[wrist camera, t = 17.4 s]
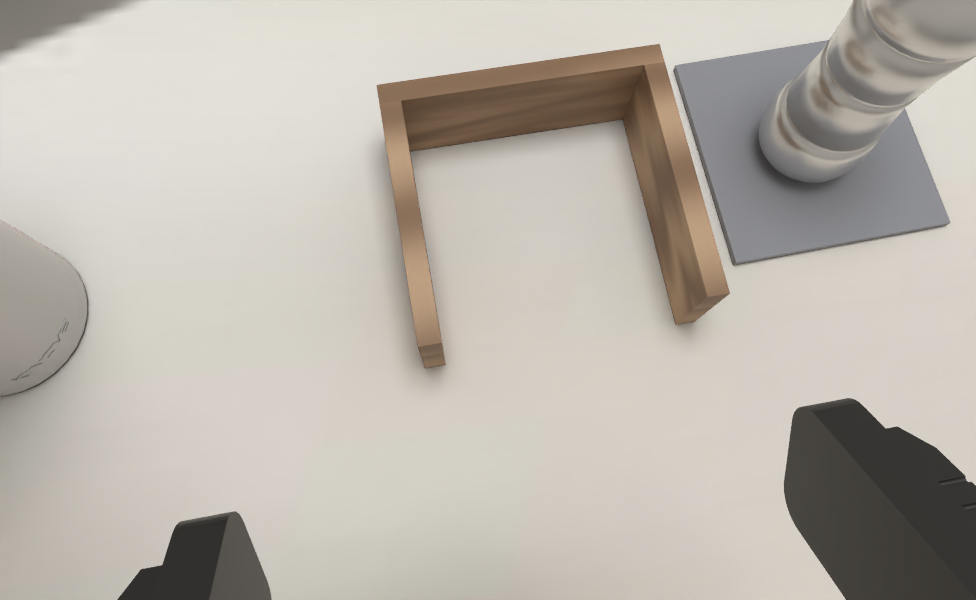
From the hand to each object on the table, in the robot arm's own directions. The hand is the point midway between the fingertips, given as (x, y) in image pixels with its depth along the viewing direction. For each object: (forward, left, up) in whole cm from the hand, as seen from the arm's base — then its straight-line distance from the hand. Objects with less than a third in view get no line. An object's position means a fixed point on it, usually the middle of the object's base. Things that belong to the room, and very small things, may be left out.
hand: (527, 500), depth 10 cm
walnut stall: (-6, +15, -31) cm, 35 cm away
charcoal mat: (+5, +30, -31) cm, 43 cm away
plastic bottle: (+5, +29, -30) cm, 42 cm away
